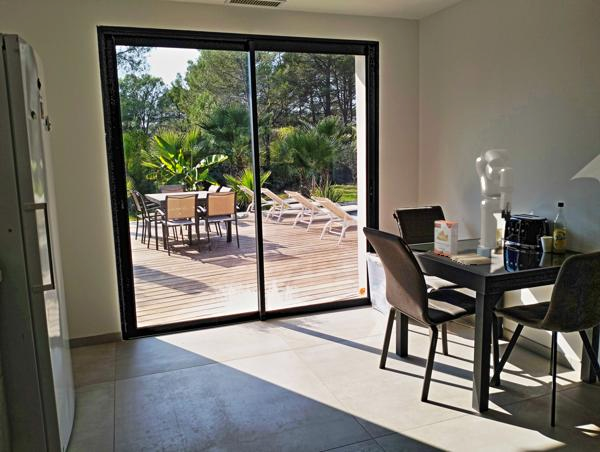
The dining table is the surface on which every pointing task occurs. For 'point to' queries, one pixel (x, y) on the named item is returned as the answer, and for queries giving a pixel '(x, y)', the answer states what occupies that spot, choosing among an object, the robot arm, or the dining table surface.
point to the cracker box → (446, 238)
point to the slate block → (483, 252)
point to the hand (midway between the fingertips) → (505, 219)
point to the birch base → (470, 259)
